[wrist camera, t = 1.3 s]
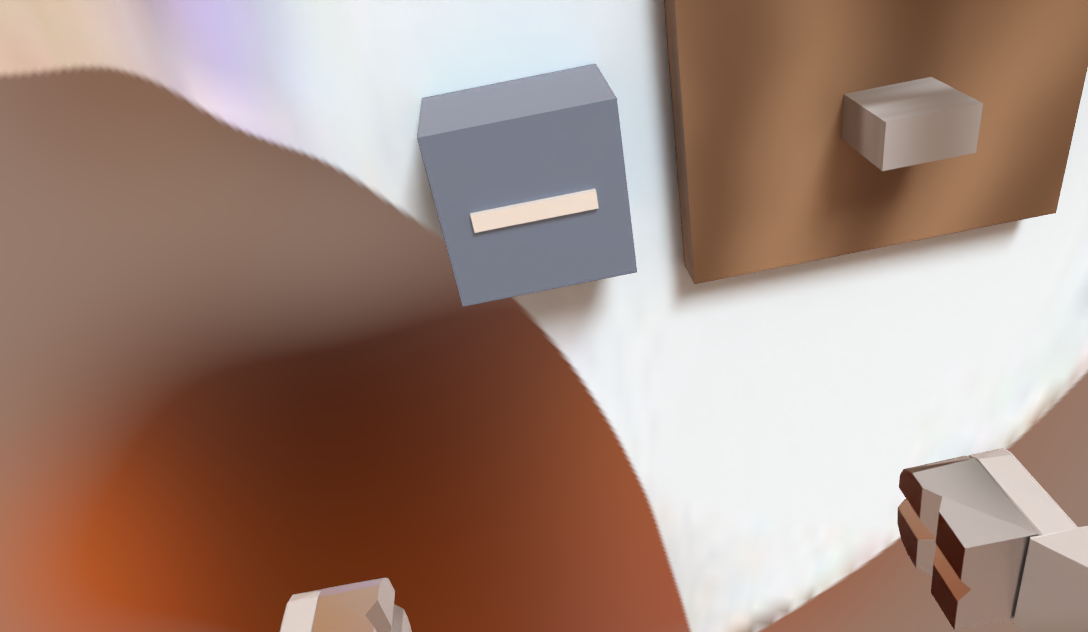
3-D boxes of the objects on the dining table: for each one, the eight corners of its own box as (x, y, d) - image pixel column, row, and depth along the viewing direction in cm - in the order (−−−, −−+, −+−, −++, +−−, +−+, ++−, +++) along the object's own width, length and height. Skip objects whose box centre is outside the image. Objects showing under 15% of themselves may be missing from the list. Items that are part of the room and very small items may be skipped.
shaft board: (684, 265, 31) (717, 326, 27) (659, -64, 24) (697, -45, 20) (1030, 196, 30) (1112, 249, 27) (1099, -152, 24) (1220, -149, 20)
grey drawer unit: (461, 252, 29) (462, 309, 26) (421, 98, 26) (417, 140, 22) (615, 221, 29) (638, 275, 26) (595, 63, 26) (617, 100, 22)
